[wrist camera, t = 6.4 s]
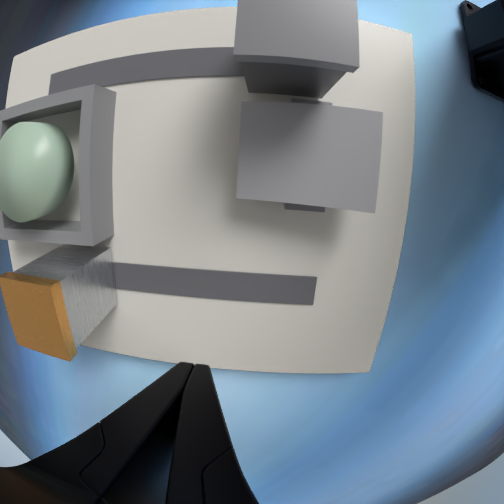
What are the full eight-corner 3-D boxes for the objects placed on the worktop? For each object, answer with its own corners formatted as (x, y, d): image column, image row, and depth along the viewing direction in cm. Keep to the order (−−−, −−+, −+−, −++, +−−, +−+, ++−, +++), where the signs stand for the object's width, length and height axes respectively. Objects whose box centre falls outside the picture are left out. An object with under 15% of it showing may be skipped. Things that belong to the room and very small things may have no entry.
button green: (76, 116, 10) (54, 113, 9) (75, 215, 11) (54, 223, 10) (14, 130, 10) (-8, 130, 9) (15, 214, 12) (-6, 222, 10)
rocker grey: (379, 115, 9) (382, 112, 9) (371, 210, 10) (374, 213, 10) (247, 105, 11) (241, 101, 10) (242, 196, 12) (236, 198, 11)
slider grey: (325, 35, 10) (354, -22, 5) (323, 101, 11) (359, 67, 6) (250, 29, 10) (241, -34, 5) (245, 94, 11) (233, 54, 6)
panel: (400, 43, 11) (430, 20, 8) (362, 357, 16) (378, 395, 13) (28, 60, 12) (-8, 51, 8) (39, 320, 17) (12, 345, 14)
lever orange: (112, 245, 13) (50, 286, 8) (119, 305, 14) (70, 361, 9) (62, 241, 13) (-2, 276, 8) (71, 297, 14) (17, 344, 9)
